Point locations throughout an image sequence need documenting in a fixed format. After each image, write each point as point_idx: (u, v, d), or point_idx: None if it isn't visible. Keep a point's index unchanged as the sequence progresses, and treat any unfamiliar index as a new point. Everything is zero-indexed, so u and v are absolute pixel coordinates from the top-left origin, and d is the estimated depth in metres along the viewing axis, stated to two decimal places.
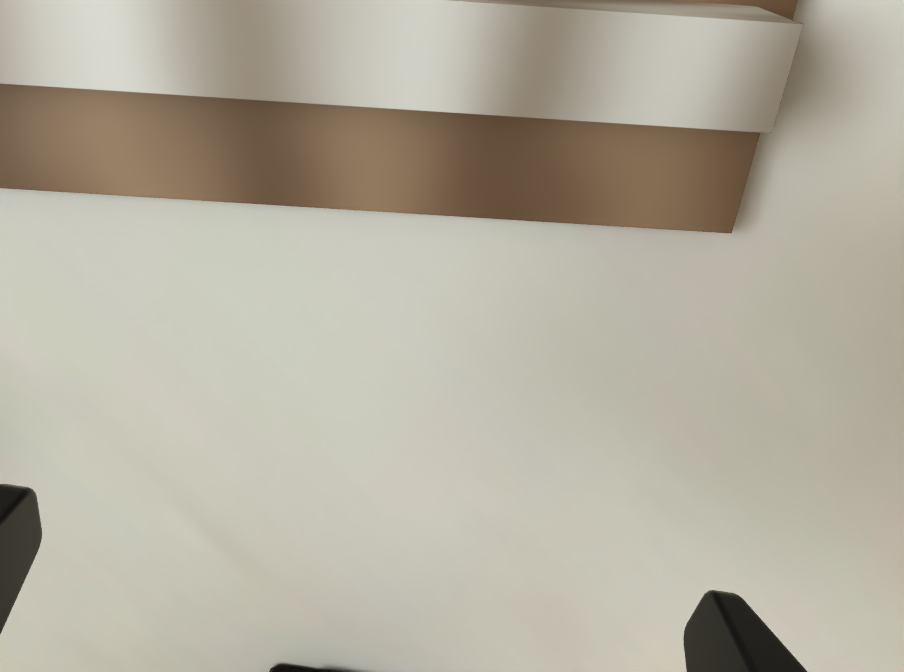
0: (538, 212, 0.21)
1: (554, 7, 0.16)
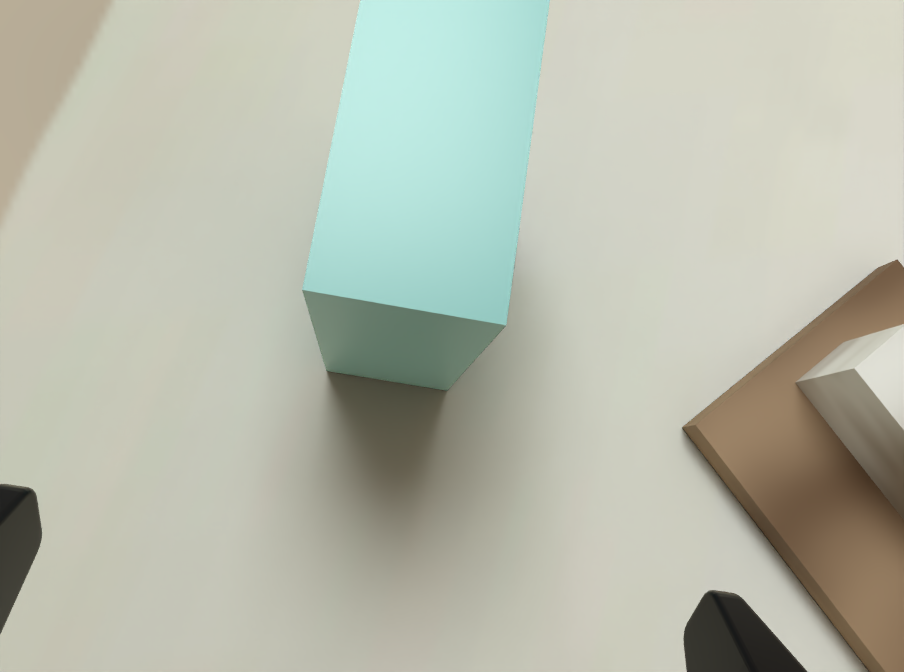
0: None
1: None
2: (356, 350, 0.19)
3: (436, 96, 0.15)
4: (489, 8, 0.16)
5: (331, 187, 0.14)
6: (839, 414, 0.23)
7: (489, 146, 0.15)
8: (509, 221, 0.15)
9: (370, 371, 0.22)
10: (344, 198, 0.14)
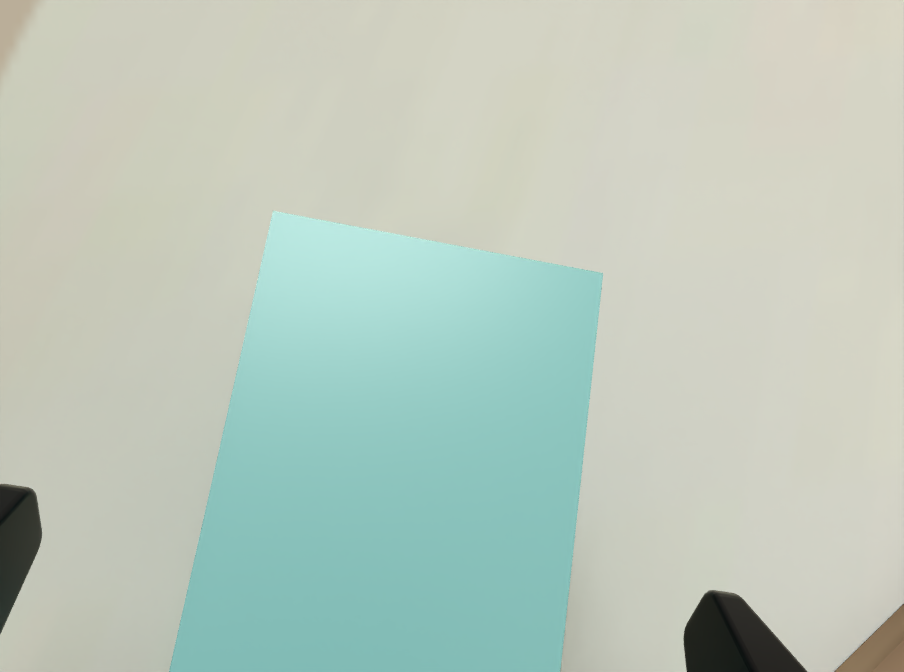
0: None
1: None
2: None
3: (394, 481, 0.08)
4: (495, 296, 0.09)
5: None
6: None
7: (494, 578, 0.08)
8: None
9: None
10: None
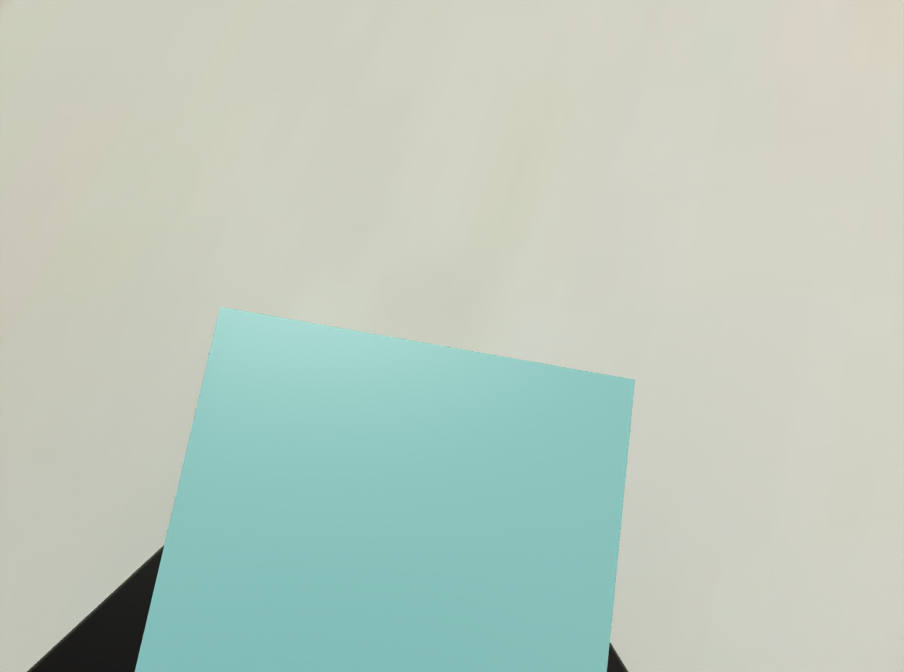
0: None
1: None
2: None
3: (370, 660, 0.06)
4: (498, 412, 0.07)
5: None
6: None
7: None
8: None
9: None
10: None
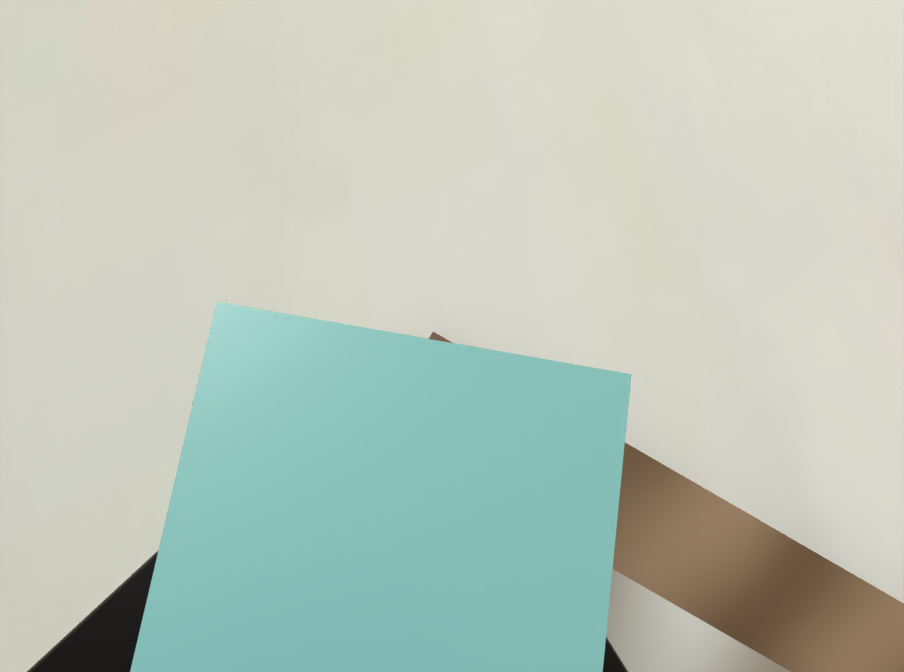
0: None
1: None
2: None
3: (368, 655, 0.06)
4: (495, 406, 0.07)
5: None
6: None
7: None
8: None
9: None
10: None
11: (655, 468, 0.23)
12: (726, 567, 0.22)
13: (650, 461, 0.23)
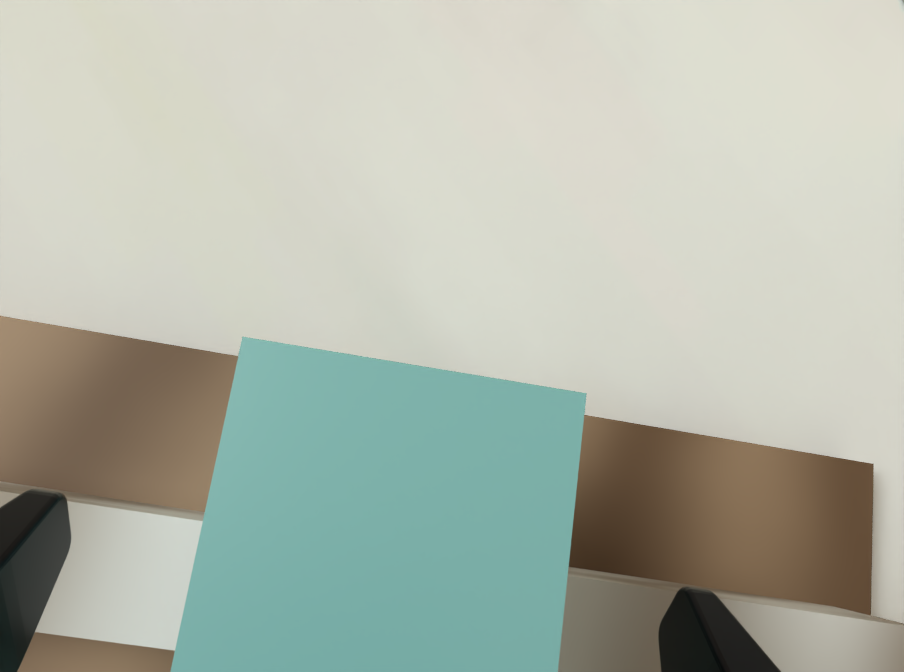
0: None
1: None
2: None
3: (368, 625, 0.08)
4: (473, 421, 0.08)
5: None
6: None
7: None
8: None
9: None
10: None
11: (201, 359, 0.18)
12: None
13: (193, 353, 0.18)
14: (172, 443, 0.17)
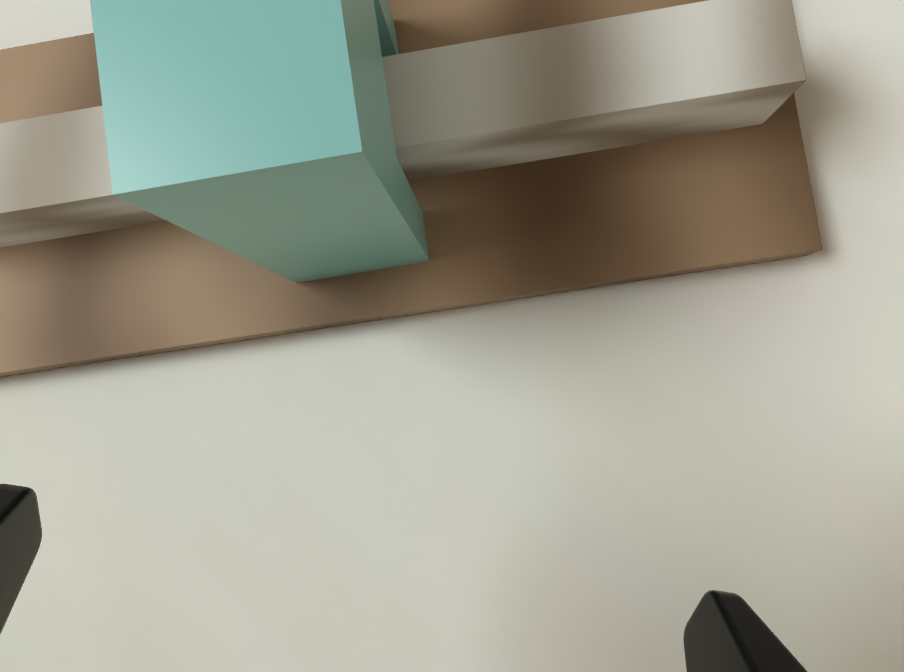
0: (611, 270, 0.21)
1: (566, 26, 0.18)
2: (281, 248, 0.17)
3: None
4: None
5: (108, 61, 0.11)
6: None
7: None
8: (329, 20, 0.11)
9: (332, 267, 0.20)
10: (126, 68, 0.11)
11: None
12: None
13: None
14: None
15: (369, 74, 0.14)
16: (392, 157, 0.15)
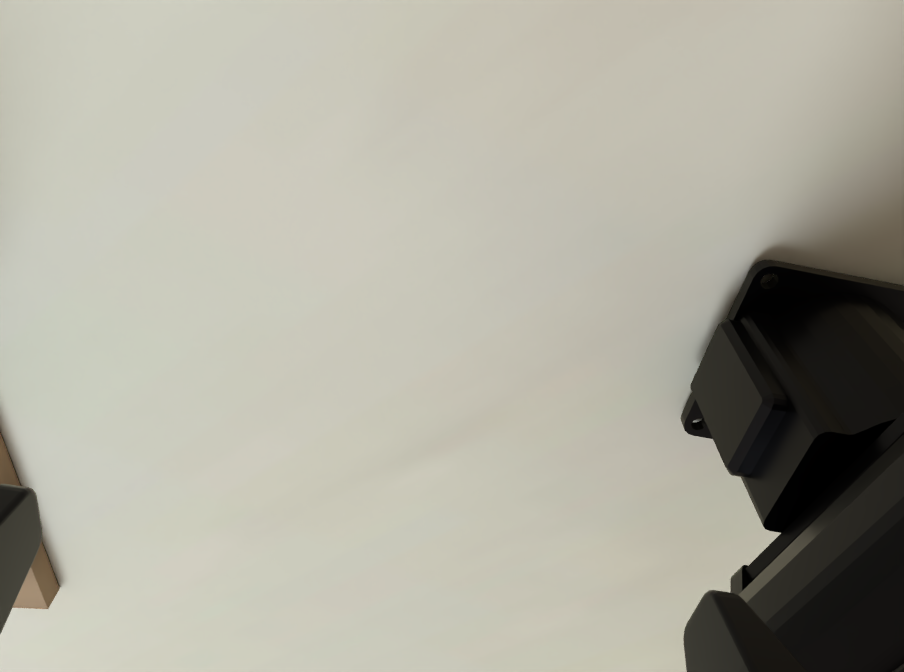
0: None
1: None
2: None
3: None
4: None
5: None
6: None
7: None
8: None
9: None
10: None
11: None
12: None
13: None
14: None
15: None
16: None
